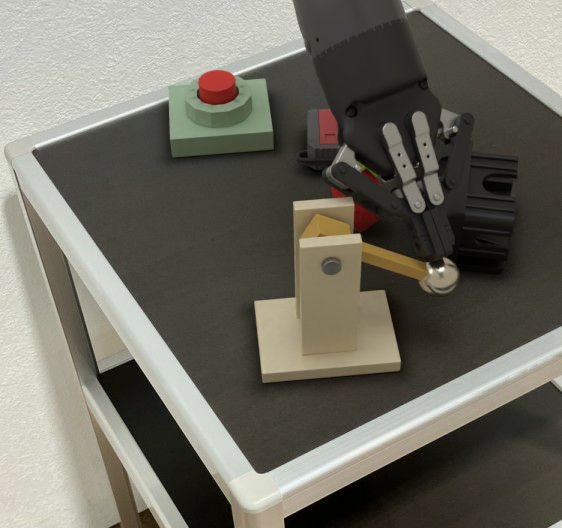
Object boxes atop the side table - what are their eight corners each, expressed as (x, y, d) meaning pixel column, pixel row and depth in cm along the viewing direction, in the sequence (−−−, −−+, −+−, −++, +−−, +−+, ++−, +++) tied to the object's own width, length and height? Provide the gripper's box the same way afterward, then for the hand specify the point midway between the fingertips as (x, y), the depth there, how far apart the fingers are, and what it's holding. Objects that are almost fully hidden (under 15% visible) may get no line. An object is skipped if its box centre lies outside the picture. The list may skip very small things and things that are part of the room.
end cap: (431, 195, 90) (438, 135, 85) (508, 203, 89) (520, 143, 84) (420, 269, 84) (427, 209, 79) (502, 278, 83) (515, 219, 78)
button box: (266, 96, 101) (264, 62, 98) (273, 149, 95) (272, 115, 92) (170, 103, 101) (166, 70, 98) (172, 157, 95) (167, 123, 92)
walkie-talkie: (296, 187, 92) (508, 182, 91) (295, 149, 88) (515, 144, 88) (295, 130, 97) (495, 126, 97) (294, 92, 94) (501, 88, 93)
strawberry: (403, 207, 89) (411, 116, 82) (385, 262, 85) (393, 171, 77) (341, 197, 91) (343, 106, 83) (320, 250, 86) (321, 159, 78)
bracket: (384, 299, 82) (393, 179, 72) (400, 371, 77) (412, 253, 67) (254, 310, 82) (246, 191, 72) (262, 383, 76) (254, 266, 67)
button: (235, 83, 96) (234, 68, 95) (237, 104, 94) (236, 89, 93) (199, 86, 96) (197, 71, 95) (200, 107, 94) (198, 92, 93)
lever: (440, 281, 78) (463, 254, 75) (448, 310, 75) (472, 283, 73) (297, 235, 72) (318, 204, 70) (302, 264, 70) (323, 234, 68)
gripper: (298, 48, 65) (389, 287, 68) (457, -7, 69) (537, 220, 72) (262, 78, 72) (346, 294, 75) (408, 26, 76) (483, 233, 79)
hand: (439, 257), depth 73 cm, fingers closed
